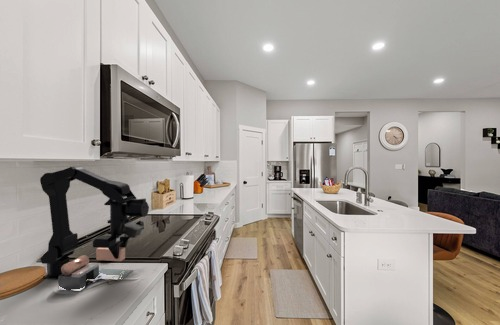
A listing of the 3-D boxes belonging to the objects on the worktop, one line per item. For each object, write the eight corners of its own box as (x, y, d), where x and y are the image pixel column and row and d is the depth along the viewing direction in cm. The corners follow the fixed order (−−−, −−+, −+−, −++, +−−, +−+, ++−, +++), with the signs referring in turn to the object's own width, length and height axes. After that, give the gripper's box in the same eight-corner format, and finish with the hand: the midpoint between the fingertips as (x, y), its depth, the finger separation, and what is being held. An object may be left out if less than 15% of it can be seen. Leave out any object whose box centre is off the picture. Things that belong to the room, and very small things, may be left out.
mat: (88, 278, 80) (88, 277, 80) (102, 269, 87) (102, 268, 87) (120, 280, 79) (120, 279, 79) (132, 271, 86) (132, 270, 86)
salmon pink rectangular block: (96, 259, 82) (96, 248, 82) (101, 257, 85) (101, 246, 85) (120, 261, 81) (120, 249, 81) (125, 258, 84) (125, 247, 84)
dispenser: (58, 290, 73) (58, 264, 73) (79, 277, 81) (79, 254, 81) (79, 291, 72) (79, 265, 72) (98, 278, 80) (98, 255, 80)
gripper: (121, 224, 72) (121, 270, 72) (152, 211, 91) (152, 248, 91) (91, 223, 73) (91, 268, 74) (127, 210, 92) (128, 246, 92)
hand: (119, 256), depth 83 cm, fingers closed on salmon pink rectangular block, 2 cm apart
